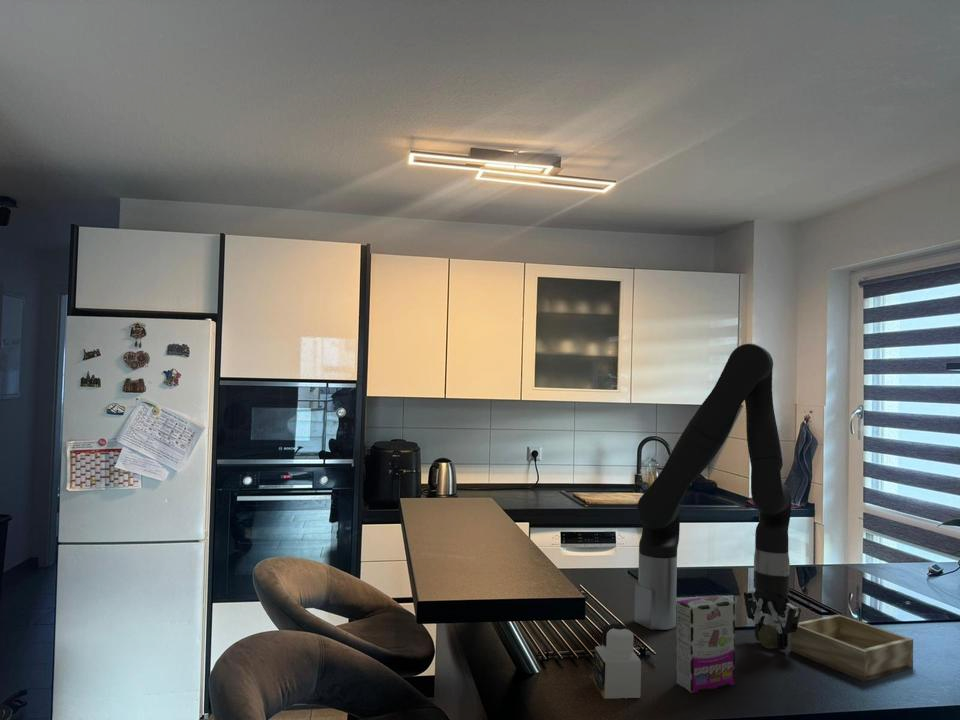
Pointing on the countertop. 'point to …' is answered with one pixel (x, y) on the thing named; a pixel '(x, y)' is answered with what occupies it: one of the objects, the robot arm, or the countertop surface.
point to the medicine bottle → (617, 664)
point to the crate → (853, 647)
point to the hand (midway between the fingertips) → (771, 644)
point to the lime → (768, 636)
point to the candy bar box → (705, 643)
